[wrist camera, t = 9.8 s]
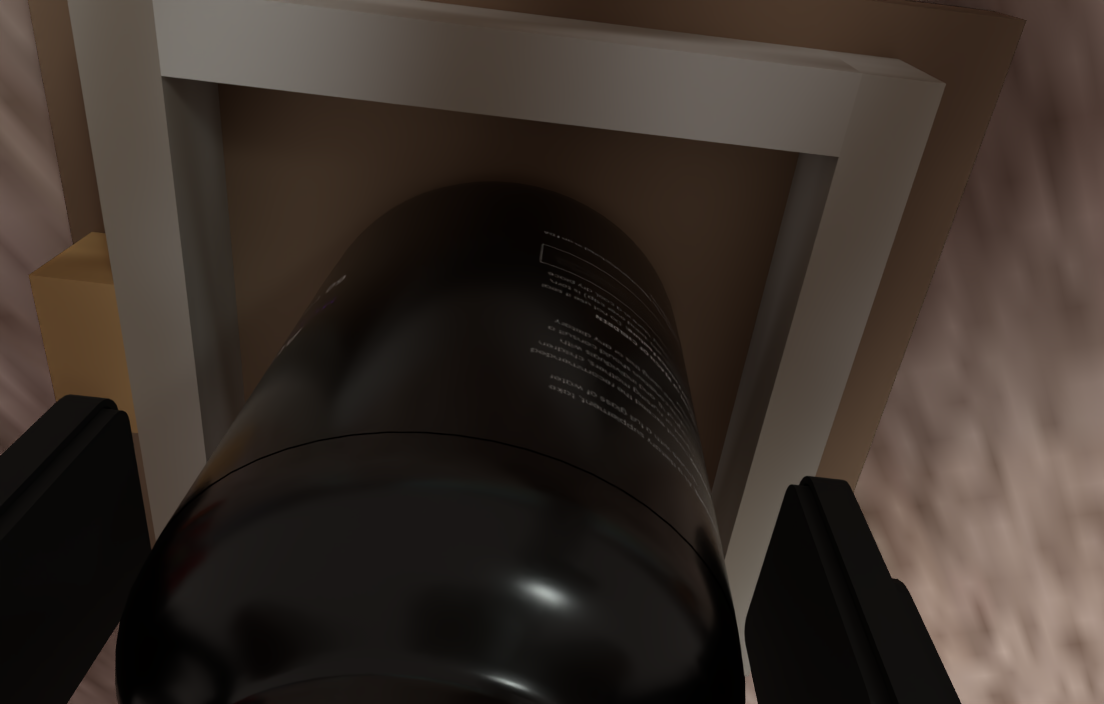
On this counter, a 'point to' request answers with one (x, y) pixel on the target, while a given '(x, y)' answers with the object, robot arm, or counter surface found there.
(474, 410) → the supplement bottle
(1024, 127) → the counter surface
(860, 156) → the pocket board
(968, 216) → the counter surface
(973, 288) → the counter surface
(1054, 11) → the counter surface
